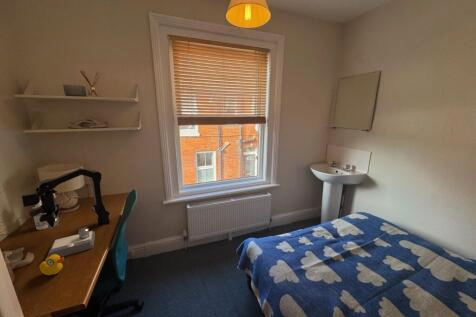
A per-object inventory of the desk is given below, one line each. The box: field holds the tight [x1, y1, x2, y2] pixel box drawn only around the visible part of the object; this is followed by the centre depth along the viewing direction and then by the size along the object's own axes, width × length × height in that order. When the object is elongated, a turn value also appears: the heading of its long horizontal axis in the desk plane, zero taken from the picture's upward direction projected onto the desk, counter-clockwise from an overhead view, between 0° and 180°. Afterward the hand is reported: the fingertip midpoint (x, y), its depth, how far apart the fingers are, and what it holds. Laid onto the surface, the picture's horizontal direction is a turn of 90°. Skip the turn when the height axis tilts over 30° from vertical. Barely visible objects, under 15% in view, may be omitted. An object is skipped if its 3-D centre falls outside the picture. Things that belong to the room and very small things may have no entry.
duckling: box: [39, 254, 65, 276], centre depth 97 cm, size 11×5×10 cm, turn 93°
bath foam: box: [33, 199, 48, 231], centre depth 136 cm, size 7×7×20 cm
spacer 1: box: [47, 216, 60, 230], centre depth 121 cm, size 5×5×5 cm
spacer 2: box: [77, 227, 90, 240], centre depth 122 cm, size 5×5×5 cm
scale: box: [46, 230, 96, 258], centre depth 118 cm, size 20×16×5 cm
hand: (53, 224), depth 121 cm, fingers closed on spacer 1, 5 cm apart
